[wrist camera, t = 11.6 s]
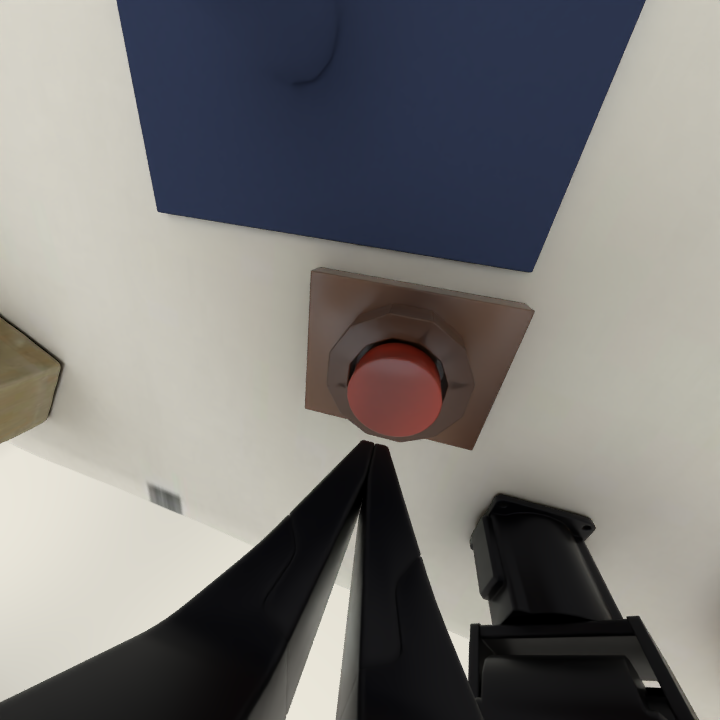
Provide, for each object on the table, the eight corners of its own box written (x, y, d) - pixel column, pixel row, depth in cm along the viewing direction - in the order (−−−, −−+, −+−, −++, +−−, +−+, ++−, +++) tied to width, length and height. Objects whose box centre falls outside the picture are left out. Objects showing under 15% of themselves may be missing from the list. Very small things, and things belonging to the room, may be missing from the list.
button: (451, 352, 13) (454, 370, 11) (428, 423, 15) (428, 446, 13) (361, 333, 13) (352, 347, 12) (350, 405, 15) (342, 424, 14)
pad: (712, -179, 7) (734, -211, 7) (528, 271, 13) (532, 272, 12) (99, -153, 10) (81, -175, 9) (166, 212, 16) (156, 211, 15)
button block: (525, 303, 14) (551, 323, 11) (469, 435, 18) (477, 474, 15) (319, 266, 15) (295, 275, 12) (312, 397, 19) (292, 426, 16)
